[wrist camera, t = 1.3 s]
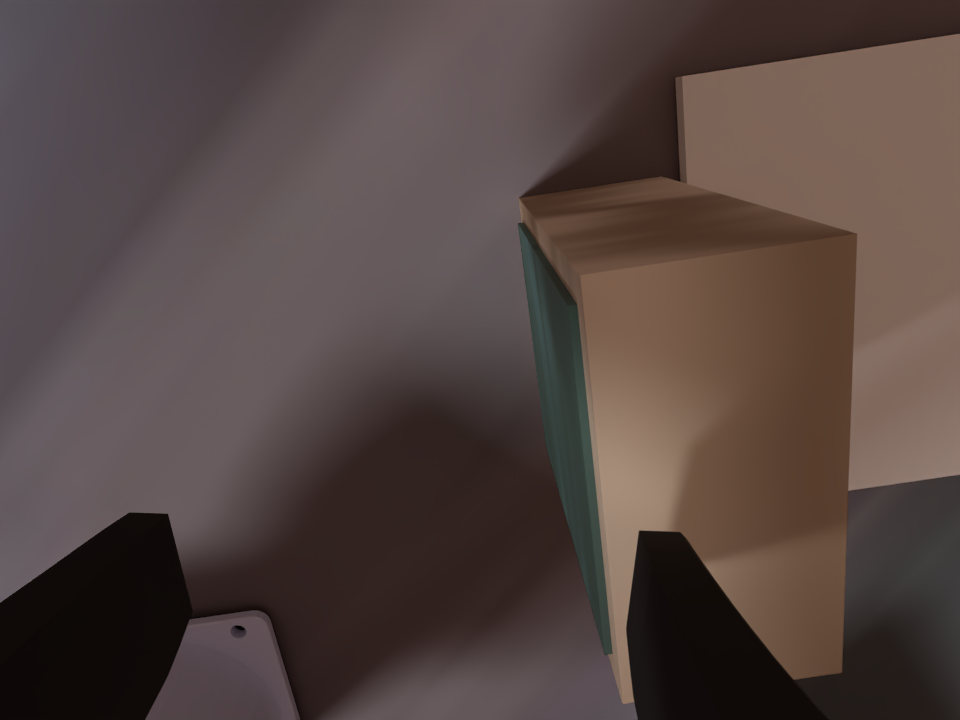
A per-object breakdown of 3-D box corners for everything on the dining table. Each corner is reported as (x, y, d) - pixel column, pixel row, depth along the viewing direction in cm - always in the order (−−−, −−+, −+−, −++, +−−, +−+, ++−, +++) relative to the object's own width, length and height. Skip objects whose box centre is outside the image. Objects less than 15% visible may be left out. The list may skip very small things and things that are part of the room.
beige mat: (695, 502, 23) (701, 512, 22) (675, 77, 19) (682, 76, 18) (1032, 453, 23) (1047, 461, 22) (1090, 13, 18) (1110, 10, 18)
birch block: (545, 454, 22) (614, 705, 13) (513, 198, 20) (570, 276, 10) (676, 435, 22) (842, 673, 13) (661, 176, 19) (857, 234, 10)
